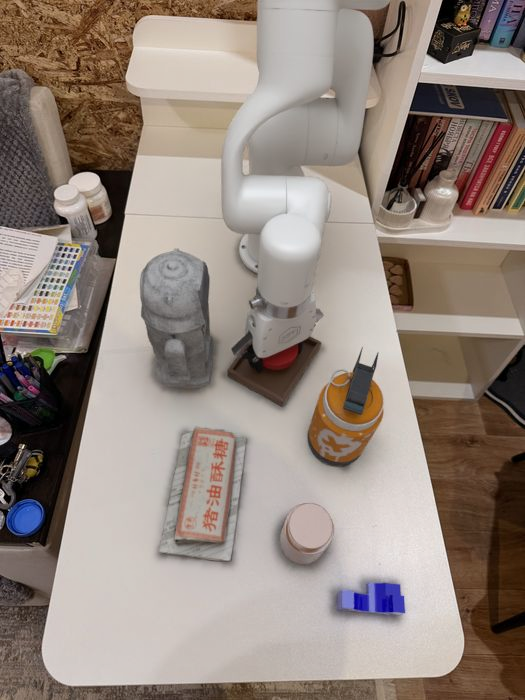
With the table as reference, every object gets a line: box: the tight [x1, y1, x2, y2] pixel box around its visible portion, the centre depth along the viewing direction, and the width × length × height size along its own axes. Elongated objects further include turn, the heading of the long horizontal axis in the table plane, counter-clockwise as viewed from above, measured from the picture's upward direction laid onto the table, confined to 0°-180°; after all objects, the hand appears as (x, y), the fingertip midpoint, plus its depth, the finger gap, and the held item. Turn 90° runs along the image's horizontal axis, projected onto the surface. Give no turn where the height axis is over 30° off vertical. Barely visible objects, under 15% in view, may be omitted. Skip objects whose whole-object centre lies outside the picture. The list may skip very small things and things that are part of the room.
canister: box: [307, 346, 385, 467], centre depth 72 cm, size 9×11×20 cm
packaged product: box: [158, 425, 248, 562], centre depth 73 cm, size 18×5×10 cm
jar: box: [279, 502, 335, 565], centre depth 68 cm, size 6×6×10 cm
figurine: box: [139, 247, 215, 389], centre depth 76 cm, size 10×14×25 cm
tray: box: [227, 336, 322, 407], centre depth 86 cm, size 13×11×2 cm
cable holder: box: [336, 582, 406, 616], centre depth 67 cm, size 8×4×4 cm, turn 85°
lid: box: [262, 343, 298, 370], centre depth 84 cm, size 7×7×2 cm
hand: (275, 355), depth 86 cm, fingers closed on lid, 7 cm apart
